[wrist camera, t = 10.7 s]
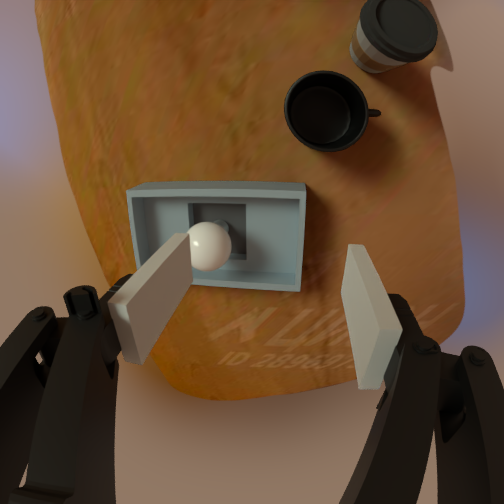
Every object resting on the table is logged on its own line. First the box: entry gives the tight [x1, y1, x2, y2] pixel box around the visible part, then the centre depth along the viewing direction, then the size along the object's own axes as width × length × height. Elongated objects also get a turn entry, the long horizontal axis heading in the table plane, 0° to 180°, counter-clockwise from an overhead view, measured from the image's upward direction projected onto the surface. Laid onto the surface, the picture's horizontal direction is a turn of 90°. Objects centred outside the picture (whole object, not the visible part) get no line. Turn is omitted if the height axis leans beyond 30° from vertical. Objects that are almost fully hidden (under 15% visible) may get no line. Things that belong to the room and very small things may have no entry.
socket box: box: [126, 181, 306, 292], centre depth 43 cm, size 14×24×6 cm, turn 90°
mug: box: [284, 70, 381, 152], centre depth 33 cm, size 9×12×9 cm
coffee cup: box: [350, 0, 438, 73], centre depth 25 cm, size 8×8×15 cm
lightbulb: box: [186, 220, 232, 272], centre depth 40 cm, size 6×6×11 cm
